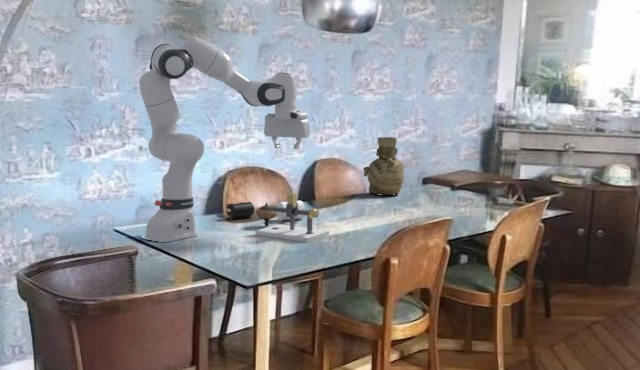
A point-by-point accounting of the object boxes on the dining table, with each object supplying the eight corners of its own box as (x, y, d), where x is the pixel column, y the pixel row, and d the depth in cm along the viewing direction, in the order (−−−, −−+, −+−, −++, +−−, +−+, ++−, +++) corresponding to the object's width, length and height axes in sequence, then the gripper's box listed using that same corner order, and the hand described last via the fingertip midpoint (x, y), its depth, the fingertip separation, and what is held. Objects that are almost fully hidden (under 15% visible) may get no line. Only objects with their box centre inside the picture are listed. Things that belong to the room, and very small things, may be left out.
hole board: (307, 242, 256) (307, 237, 256) (255, 234, 269) (255, 230, 268) (329, 234, 269) (329, 230, 268) (278, 227, 281) (278, 224, 281)
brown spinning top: (252, 226, 285) (251, 201, 284) (268, 223, 290) (268, 199, 289) (264, 229, 279) (263, 204, 277) (280, 226, 284) (280, 202, 283)
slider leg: (291, 231, 266) (291, 194, 264) (286, 230, 267) (286, 194, 265) (298, 229, 270) (298, 193, 267) (292, 228, 271) (292, 192, 269)
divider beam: (315, 234, 261) (315, 209, 260) (267, 228, 273) (267, 204, 272) (318, 233, 263) (318, 208, 262) (271, 227, 275) (270, 203, 274)
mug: (276, 219, 300) (276, 200, 299) (297, 217, 304) (297, 199, 303) (287, 224, 289) (287, 205, 288) (309, 222, 294) (309, 203, 293)
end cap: (235, 221, 296) (234, 205, 295) (226, 218, 301) (225, 203, 300) (254, 218, 302) (254, 202, 301) (245, 215, 308) (245, 200, 307)
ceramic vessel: (363, 191, 377) (364, 135, 373) (402, 191, 375) (403, 136, 371) (362, 197, 358) (363, 138, 354) (404, 197, 357) (405, 139, 352)
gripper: (260, 113, 281) (261, 148, 283) (302, 114, 270) (303, 150, 272) (269, 112, 286) (270, 146, 288) (311, 113, 275) (312, 148, 277)
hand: (286, 148), depth 280 cm, fingers open, 8 cm apart
